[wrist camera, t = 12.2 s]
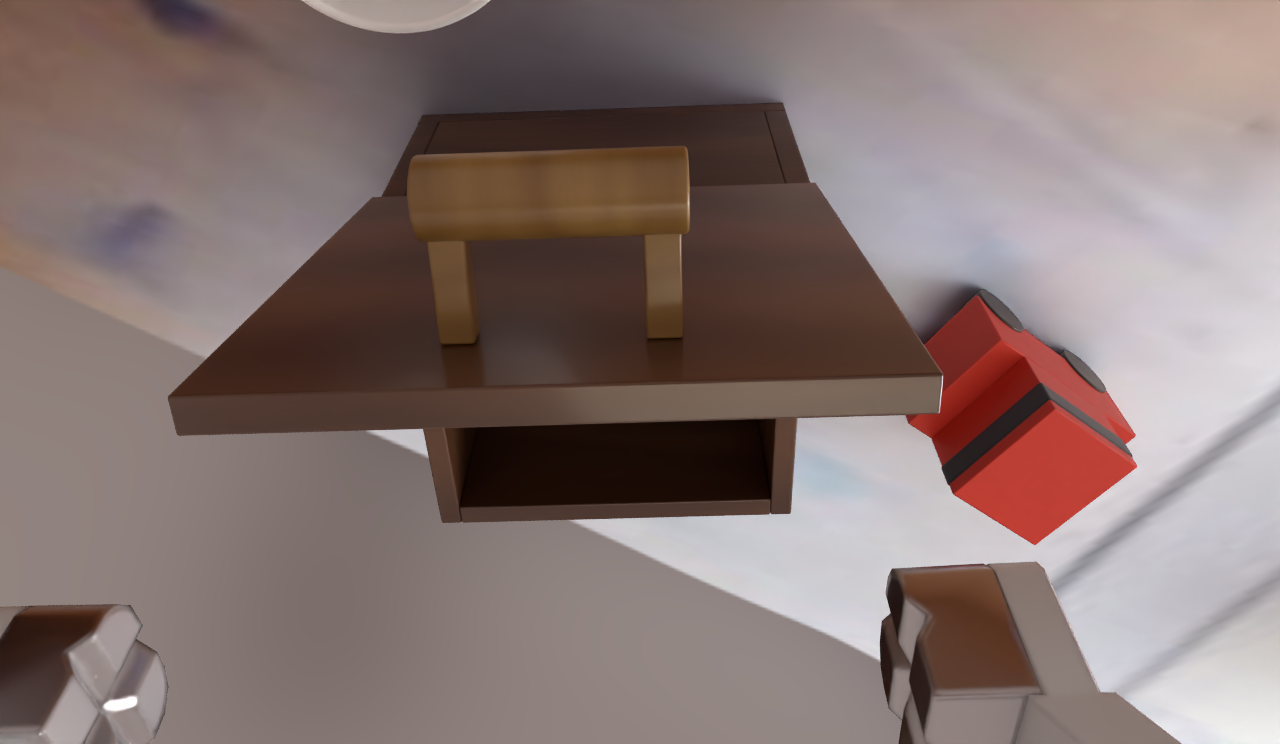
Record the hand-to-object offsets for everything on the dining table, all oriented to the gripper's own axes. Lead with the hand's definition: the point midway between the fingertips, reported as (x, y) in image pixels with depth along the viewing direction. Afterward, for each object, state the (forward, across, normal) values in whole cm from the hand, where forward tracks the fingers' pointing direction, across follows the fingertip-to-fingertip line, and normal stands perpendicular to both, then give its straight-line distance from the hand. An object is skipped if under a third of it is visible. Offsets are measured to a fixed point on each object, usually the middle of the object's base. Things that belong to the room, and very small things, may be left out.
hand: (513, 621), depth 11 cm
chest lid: (+14, 0, +4) cm, 14 cm away
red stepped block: (+28, -16, +18) cm, 37 cm away
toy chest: (+29, 0, +12) cm, 31 cm away
